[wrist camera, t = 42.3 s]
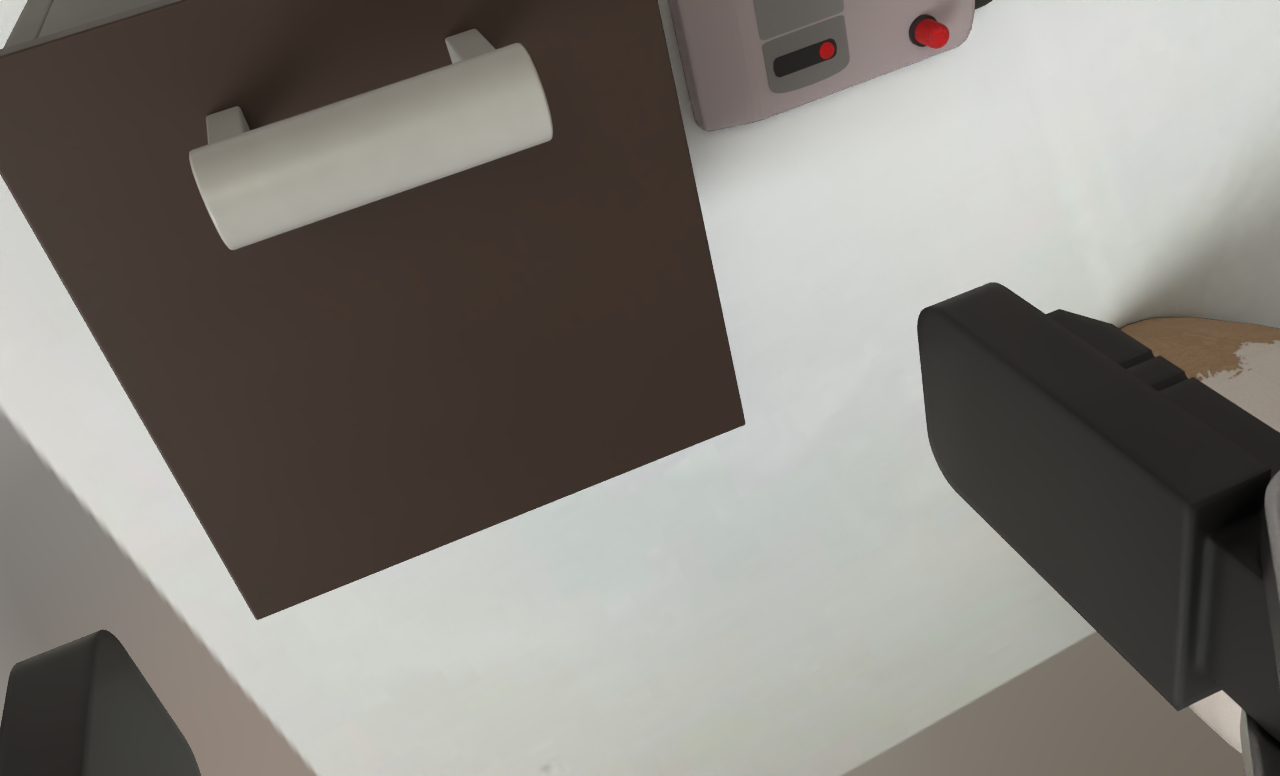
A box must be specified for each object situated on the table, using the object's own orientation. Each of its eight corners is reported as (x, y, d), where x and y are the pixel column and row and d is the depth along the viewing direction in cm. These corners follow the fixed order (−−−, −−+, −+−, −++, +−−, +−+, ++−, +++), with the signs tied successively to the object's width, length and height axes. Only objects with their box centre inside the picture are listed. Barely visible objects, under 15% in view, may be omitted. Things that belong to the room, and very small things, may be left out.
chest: (32, -14, 32) (-28, 103, 22) (497, -153, 34) (626, -102, 24) (234, 385, 39) (254, 602, 30) (605, 250, 42) (735, 411, 32)
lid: (-53, 65, 22) (-110, 156, 17) (618, -141, 24) (722, -107, 19) (254, 604, 30) (270, 763, 25) (735, 411, 32) (828, 526, 27)
